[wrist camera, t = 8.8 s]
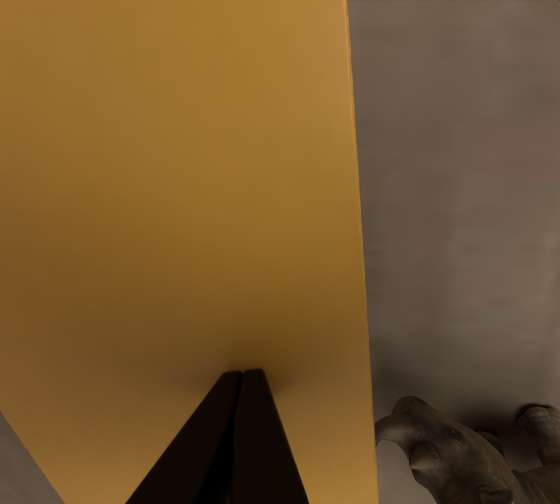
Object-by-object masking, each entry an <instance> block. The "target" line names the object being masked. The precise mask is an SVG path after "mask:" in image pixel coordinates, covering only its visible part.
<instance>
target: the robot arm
mask: <svg viewBox="0 0 560 504" xmlns="http://www.w3.org/2000/svg"><path fill="white" fill-rule="evenodd" d="M125 504H310V503H309V501H308V497H307V494H306V491H305V488H304V486H303V483H302V480H301V477H300V474H299V471H298V468H297V465H296V462H295V459H294V456H293V454H292V451H291V448H290V445H289V442H288V439H287V436H286V433H285V430H284V427H283V425H282V422H281V419H280V416H279V413H278V410H277V407H276V404H275V401H274V398H273V396H272V393H271V390H270V387H269V384H268V381H267V378H266V375H265V372H264V370H263V369H261V368H259V369H248V370H246V371H245V372H244V374H243V372H242V371H240V370H237V371H226V372H224V373H223V374H222V375H221V376H220V377H219V379H218V380H217V381H216V383H215V384H214V385H213V387H212V388H211V389H210V391H209V392H208V393H207V395H206V396H205V397H204V399H203V400H202V401H201V403H200V404H199V405H198V407H197V408H196V409H195V411H194V412H193V413H192V415H191V416H190V417H189V419H188V420H187V421H186V423H185V424H184V425H183V427H182V428H181V429H180V431H179V432H178V433H177V435H176V436H175V437H174V439H173V440H172V441H171V443H170V444H169V445H168V447H167V448H166V449H165V451H164V452H163V453H162V455H161V456H160V457H159V459H158V460H157V462H156V463H155V464H154V466H153V467H152V468H151V470H150V471H149V472H148V474H147V475H146V476H145V478H144V479H143V480H142V482H141V483H140V484H139V486H138V487H137V488H136V490H135V491H134V492H133V494H132V495H131V496H130V498H129V499H128V500H127V502H126V503H125Z"/></svg>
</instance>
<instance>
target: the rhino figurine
mask: <svg viewBox="0 0 560 504" xmlns="http://www.w3.org/2000/svg"><path fill="white" fill-rule="evenodd" d="M518 423H519V425H520V427H521V428H522V430H523V431H524V432H525V433H526V434H527V435H528V436H529V437H530V438H531V439H532V440H533V441H534V444H535V448H536V452H537V455H538V457H539V459H540V461H541V462H542V464H543V466H542V467H537V468H534V469H532V470H529V471H527V472H524V473H521V472H519V471H516V470H511V469H510V467H509V465H508V463H507V462H506V459H505V457H504V450H503V446H502V444H501V443H500V441H499V440H498V439H497V438H496V437H495V436H494V435H492V434H489V433H487V432H483V431H481V432H475V431H473V430H472V429H470V428H468V427H466V426H464V425H461V424H458V423H456V422H454V421H453V420H451V419H450V418H448V417H446V416H444V415H443V414H441V413H440V412H438V411H437V410H435V409H434V408H432V407H431V406H430V405H429V404H428V403H426V402H425V401H423V400H421V399H419V398H417V397H415V396H406V397H403V398H400V399H399V400H398V401H397V403H396V405H395V407H394V410H393V412H392V415H389V416H387V417H384V418H382V419H380V420H378V421H377V422H375V423H374V427H375V443H376V446H377V444H378V443H379V442H380V441H381V440H389V441H393V442H396V443H397V444H398V445H399V446H400V447H401V448H402V449H403V451H404V452H405V454H406V456H407V458H408V460H409V466H410V467H411V470H412V473H413V475H414V478H415V480H416V481H417V482H418V483H419V484H421V485H422V486H424V487H425V488H427V489H428V490H429V492H430V493H431V494H432V496H433V498H434V499H435V501H436V503H437V504H560V413H559V411H558V410H556V409H553V408H549V409H545V408H543V407H533V408H529V409H528V410H527V411H526V413H525V414H524V415H522V416H521V417H520V418H519V420H518Z"/></svg>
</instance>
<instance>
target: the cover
mask: <svg viewBox="0 0 560 504" xmlns="http://www.w3.org/2000/svg"><path fill="white" fill-rule="evenodd" d="M259 368H261V369H263V370H264V372H265V375H266V378H267V381H268V384H269V387H270V390H271V393H272V396H273V398H274V401H275V404H276V407H277V410H278V413H279V416H280V419H281V422H282V425H283V427H284V430H285V433H286V436H287V439H288V442H289V445H290V448H291V451H292V454H293V456H294V459H295V462H296V465H297V468H298V471H299V474H300V477H301V480H302V483H303V486H304V488H305V491H306V494H307V497H308V501H309V503H310V504H379V491H378V475H377V459H376V443H375V427H374V411H373V395H372V379H371V363H370V347H369V331H368V315H367V299H366V283H365V267H364V251H363V235H362V219H361V203H360V187H359V171H358V155H357V139H356V123H355V107H354V91H353V75H352V59H351V43H350V27H349V11H348V0H0V412H1V413H2V414H3V416H4V417H5V419H6V420H7V422H8V423H9V424H10V426H11V427H12V429H13V430H14V432H15V433H16V434H17V436H18V437H19V439H20V440H21V442H22V443H23V444H24V446H25V447H26V449H27V450H28V452H29V453H30V454H31V456H32V457H33V459H34V460H35V462H36V463H37V464H38V466H39V467H40V469H41V470H42V472H43V473H44V475H45V476H46V477H47V479H48V480H49V482H50V483H51V485H52V486H53V487H54V489H55V490H56V492H57V493H58V495H59V496H60V497H61V499H62V500H63V502H64V503H65V504H125V503H126V502H127V500H128V499H129V498H130V496H131V495H132V494H133V492H134V491H135V490H136V488H137V487H138V486H139V484H140V483H141V482H142V480H143V479H144V478H145V476H146V475H147V474H148V472H149V471H150V470H151V468H152V467H153V466H154V464H155V463H156V462H157V460H158V459H159V457H160V456H161V455H162V453H163V452H164V451H165V449H166V448H167V447H168V445H169V444H170V443H171V441H172V440H173V439H174V437H175V436H176V435H177V433H178V432H179V431H180V429H181V428H182V427H183V425H184V424H185V423H186V421H187V420H188V419H189V417H190V416H191V415H192V413H193V412H194V411H195V409H196V408H197V407H198V405H199V404H200V403H201V401H202V400H203V399H204V397H205V396H206V395H207V393H208V392H209V391H210V389H211V388H212V387H213V385H214V384H215V383H216V381H217V380H218V379H219V377H220V376H221V375H222V374H223V373H224V372H226V371H237V370H240V371H242V372H243V374H244V372H245V371H246V370H248V369H259Z"/></svg>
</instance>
